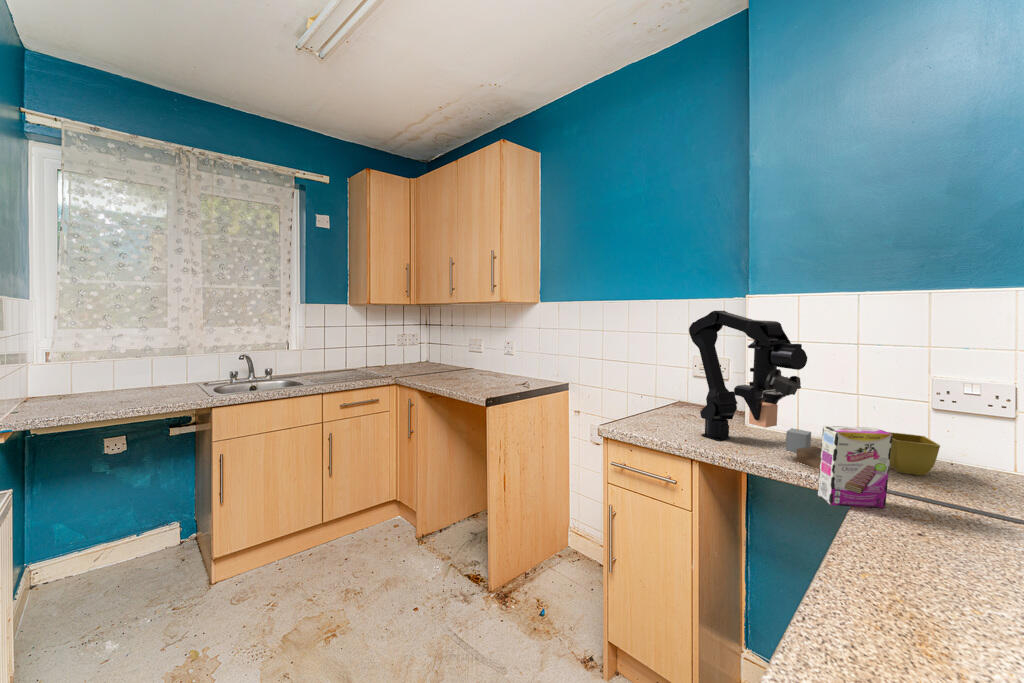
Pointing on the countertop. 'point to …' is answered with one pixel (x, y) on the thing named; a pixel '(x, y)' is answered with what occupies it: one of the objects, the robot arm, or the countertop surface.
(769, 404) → the terracotta block
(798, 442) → the grey block
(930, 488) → the countertop surface
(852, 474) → the candy bar box
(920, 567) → the countertop surface
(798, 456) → the base block
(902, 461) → the flower pot
